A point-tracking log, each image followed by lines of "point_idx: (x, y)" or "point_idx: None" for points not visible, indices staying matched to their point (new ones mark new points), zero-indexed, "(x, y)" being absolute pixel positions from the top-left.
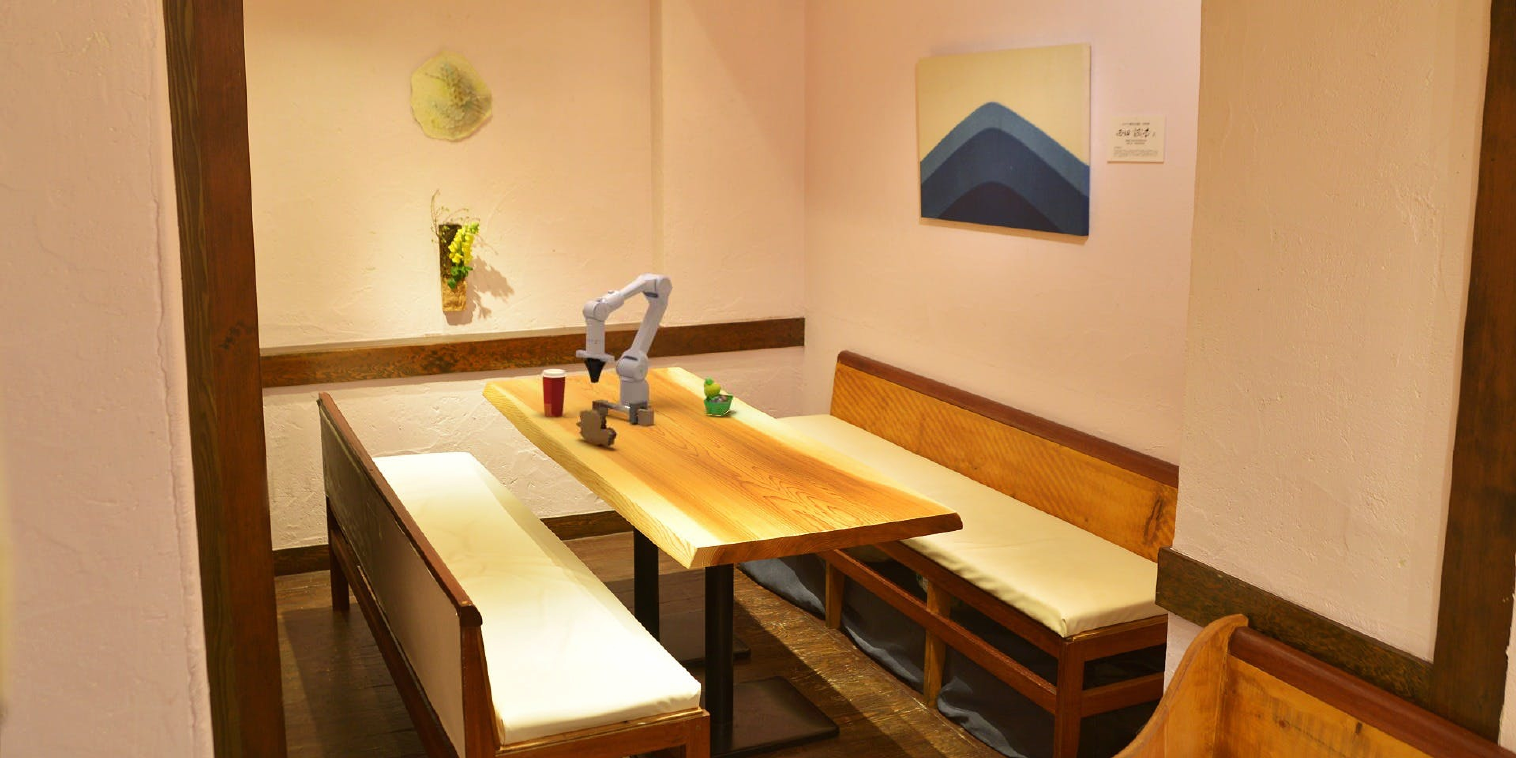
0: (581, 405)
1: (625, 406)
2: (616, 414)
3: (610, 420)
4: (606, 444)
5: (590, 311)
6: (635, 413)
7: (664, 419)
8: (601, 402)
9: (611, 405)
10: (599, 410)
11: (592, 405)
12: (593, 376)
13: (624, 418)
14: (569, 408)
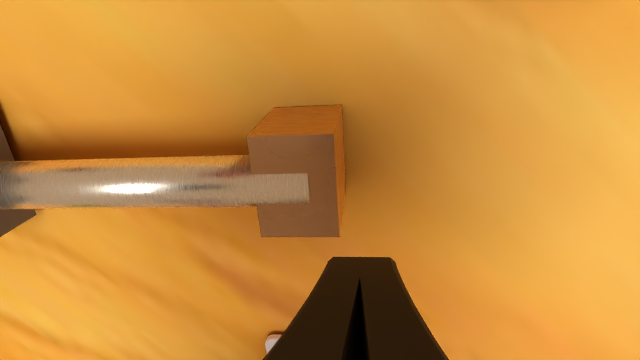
0: (596, 246)
1: (16, 184)
2: (249, 221)
3: (133, 76)
4: None
5: None
6: None
7: (26, 302)
8: (250, 160)
9: (149, 165)
10: (264, 119)
11: (334, 122)
12: (305, 312)
13: None
14: (615, 123)
